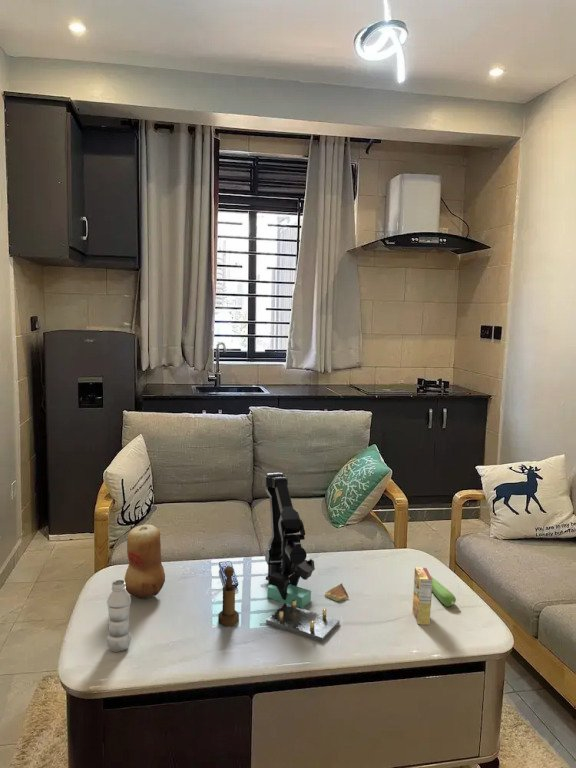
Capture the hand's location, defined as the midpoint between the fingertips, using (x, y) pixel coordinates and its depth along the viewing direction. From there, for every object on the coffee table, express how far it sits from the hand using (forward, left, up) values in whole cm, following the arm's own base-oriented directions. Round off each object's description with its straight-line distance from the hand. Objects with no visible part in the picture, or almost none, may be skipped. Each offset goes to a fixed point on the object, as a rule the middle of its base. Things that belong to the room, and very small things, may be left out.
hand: (289, 595), depth 196 cm
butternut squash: (-43, -25, -1) cm, 50 cm away
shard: (+12, +12, -2) cm, 17 cm away
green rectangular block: (0, 0, -2) cm, 2 cm away
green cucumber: (+44, +31, -2) cm, 53 cm away
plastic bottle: (-27, -52, -1) cm, 59 cm away
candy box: (+43, +12, -1) cm, 45 cm away
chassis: (+12, -12, -1) cm, 17 cm away
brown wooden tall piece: (-9, -23, -2) cm, 25 cm away
